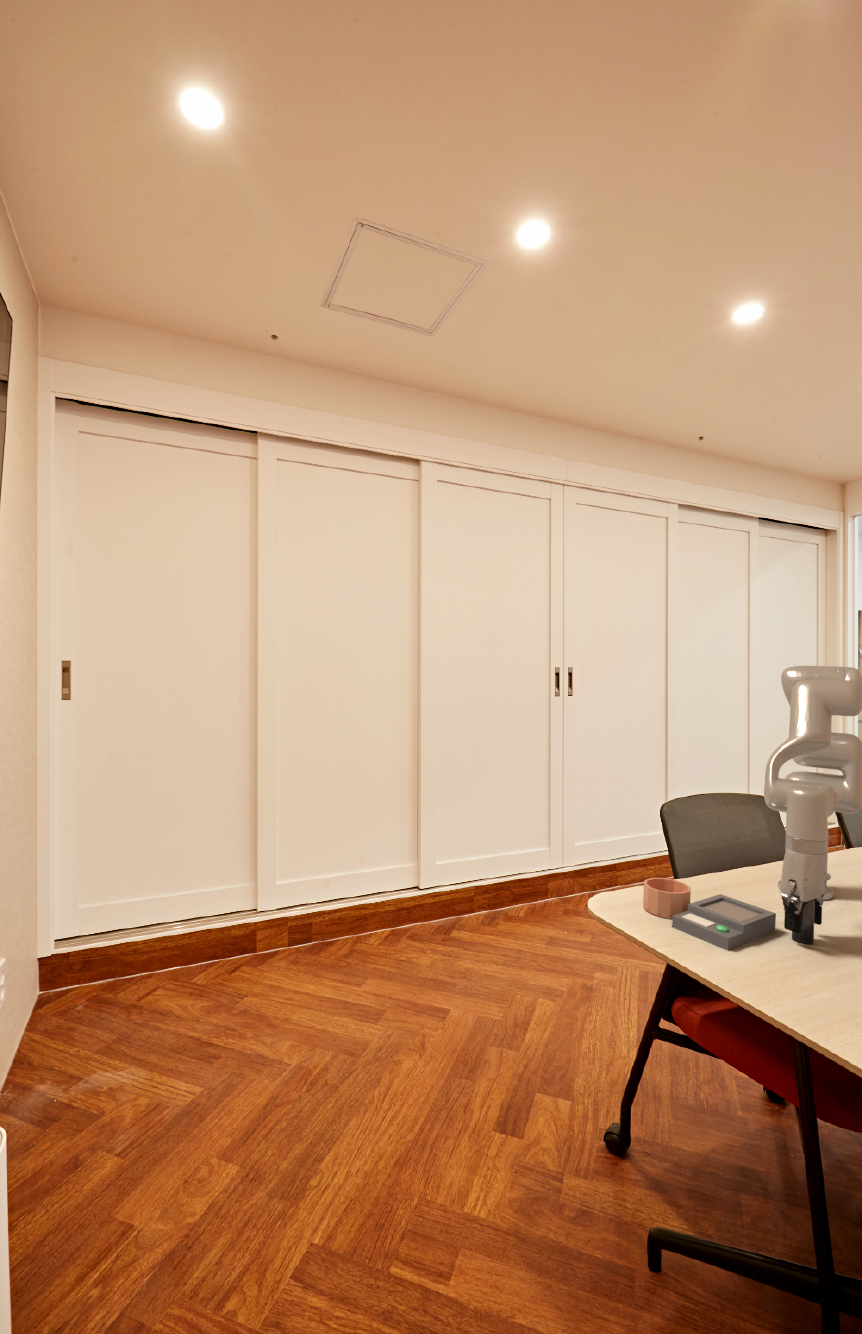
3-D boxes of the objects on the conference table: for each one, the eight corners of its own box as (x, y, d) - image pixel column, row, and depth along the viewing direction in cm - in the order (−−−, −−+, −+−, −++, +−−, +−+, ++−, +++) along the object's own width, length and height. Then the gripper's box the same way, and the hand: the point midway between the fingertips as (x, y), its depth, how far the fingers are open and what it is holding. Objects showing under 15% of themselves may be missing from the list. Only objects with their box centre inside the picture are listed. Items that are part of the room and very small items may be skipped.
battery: (797, 935, 135) (799, 889, 135) (817, 942, 131) (818, 895, 131) (788, 939, 132) (789, 892, 132) (807, 946, 129) (809, 898, 129)
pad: (723, 904, 144) (723, 900, 144) (762, 918, 137) (762, 914, 137) (700, 912, 139) (700, 907, 139) (739, 927, 132) (739, 922, 132)
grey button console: (719, 910, 147) (720, 894, 147) (775, 931, 136) (775, 913, 136) (672, 926, 137) (672, 908, 137) (727, 950, 126) (728, 930, 126)
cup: (661, 899, 153) (662, 875, 153) (698, 913, 145) (699, 888, 145) (634, 907, 147) (635, 882, 147) (672, 922, 139) (672, 896, 139)
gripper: (807, 835, 140) (804, 912, 140) (766, 846, 130) (763, 928, 130) (843, 844, 133) (841, 924, 133) (804, 855, 124) (801, 942, 124)
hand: (803, 926), depth 132 cm, fingers open, 8 cm apart
